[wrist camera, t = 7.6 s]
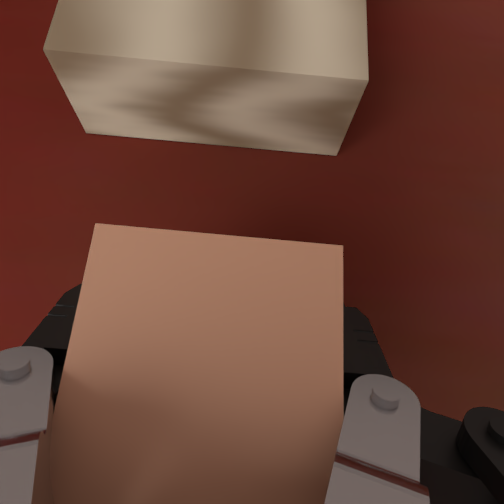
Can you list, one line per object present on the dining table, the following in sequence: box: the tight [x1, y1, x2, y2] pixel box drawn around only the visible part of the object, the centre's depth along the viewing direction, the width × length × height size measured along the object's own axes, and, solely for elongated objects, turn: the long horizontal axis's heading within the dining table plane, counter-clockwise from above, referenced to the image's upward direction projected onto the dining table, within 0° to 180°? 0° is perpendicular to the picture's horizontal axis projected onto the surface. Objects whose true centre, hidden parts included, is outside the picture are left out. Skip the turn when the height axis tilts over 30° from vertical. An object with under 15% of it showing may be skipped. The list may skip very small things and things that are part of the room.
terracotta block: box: [50, 223, 344, 504], centre depth 11 cm, size 5×5×8 cm
